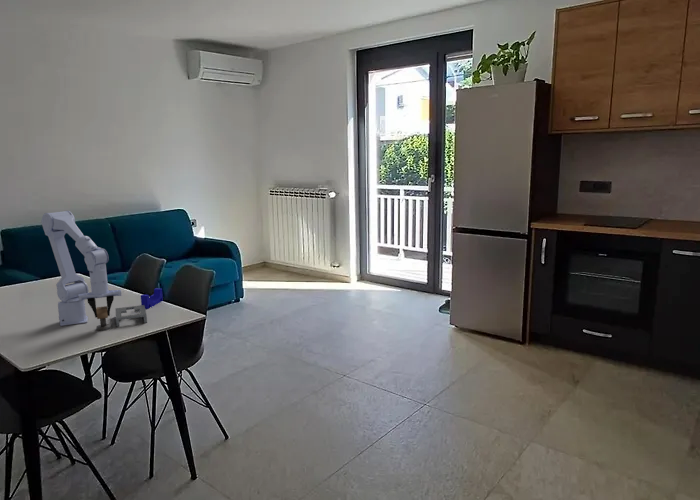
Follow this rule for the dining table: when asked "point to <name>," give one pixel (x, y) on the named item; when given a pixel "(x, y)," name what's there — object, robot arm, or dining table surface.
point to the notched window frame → (136, 308)
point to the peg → (102, 318)
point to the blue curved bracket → (152, 298)
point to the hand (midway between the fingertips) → (102, 315)
